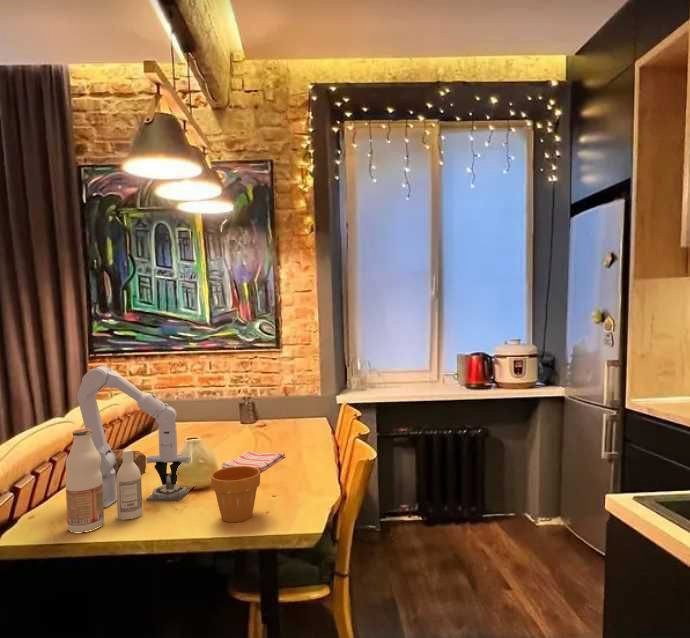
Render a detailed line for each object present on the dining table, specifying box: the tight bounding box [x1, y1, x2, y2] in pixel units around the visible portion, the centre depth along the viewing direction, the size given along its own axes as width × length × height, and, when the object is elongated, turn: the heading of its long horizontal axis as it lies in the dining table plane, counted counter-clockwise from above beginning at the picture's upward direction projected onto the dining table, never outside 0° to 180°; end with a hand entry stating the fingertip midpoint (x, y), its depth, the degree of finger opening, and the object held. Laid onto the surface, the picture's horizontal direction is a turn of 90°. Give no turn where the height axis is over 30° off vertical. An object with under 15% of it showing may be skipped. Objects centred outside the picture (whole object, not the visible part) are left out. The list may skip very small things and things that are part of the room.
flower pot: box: [210, 466, 261, 523], centre depth 153 cm, size 14×14×13 cm
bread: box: [111, 448, 147, 476], centre depth 196 cm, size 19×11×10 cm, turn 85°
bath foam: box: [116, 448, 143, 520], centre depth 155 cm, size 7×7×20 cm
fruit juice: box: [65, 428, 105, 532], centre depth 148 cm, size 9×9×28 cm
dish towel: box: [221, 451, 286, 473], centre depth 207 cm, size 17×23×4 cm
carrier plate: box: [145, 484, 191, 502], centre depth 175 cm, size 15×11×4 cm
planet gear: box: [159, 472, 181, 494], centre depth 174 cm, size 7×7×6 cm
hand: (169, 484), depth 173 cm, fingers closed on planet gear, 3 cm apart
